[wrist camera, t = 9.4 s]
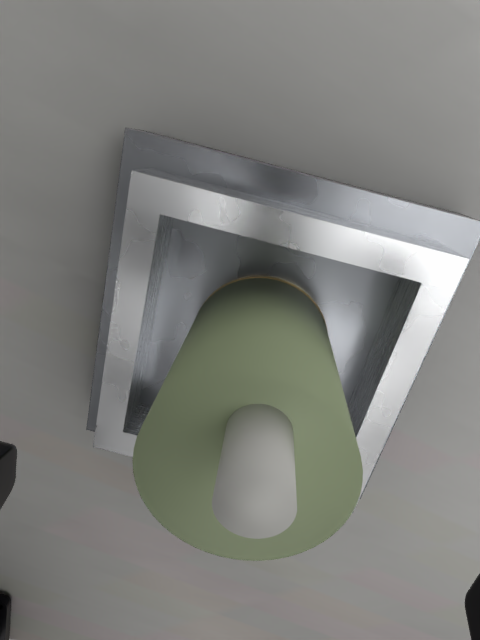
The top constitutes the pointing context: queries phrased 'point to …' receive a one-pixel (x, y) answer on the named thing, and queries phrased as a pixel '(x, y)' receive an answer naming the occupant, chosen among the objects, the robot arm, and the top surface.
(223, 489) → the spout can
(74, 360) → the top surface
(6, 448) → the robot arm
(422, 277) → the grey square holder
